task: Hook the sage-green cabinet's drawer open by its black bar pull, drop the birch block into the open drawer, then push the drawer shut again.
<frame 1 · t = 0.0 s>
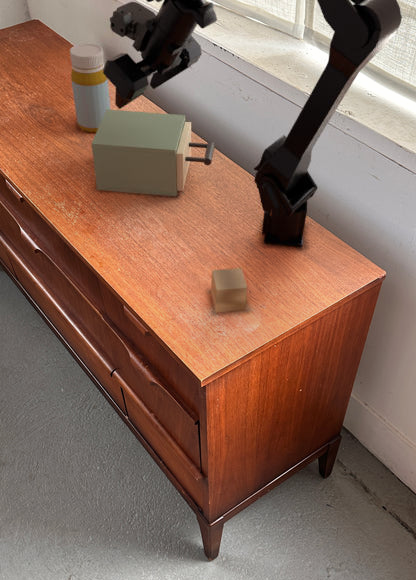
hand: (135, 96, 107), 15 cm above the dresser, tool tilted 35°, fingers open, 9 cm apart
bottle: (95, 126, 130), on the dresser
drawer: (163, 154, 114), point 5 cm above the dresser, slide at 0.0 cm
block: (227, 301, 95), on the dresser
cabinet: (142, 174, 118), on the dresser
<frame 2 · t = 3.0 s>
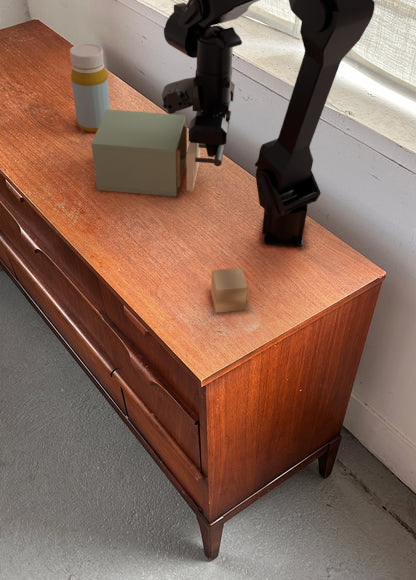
hand: (211, 155, 114), 5 cm above the dresser, tool pointing down, fingers closed, pressing on drawer
drawer: (173, 155, 114), point 5 cm above the dresser, slide at 1.8 cm, touching gripper
everything else where it was.
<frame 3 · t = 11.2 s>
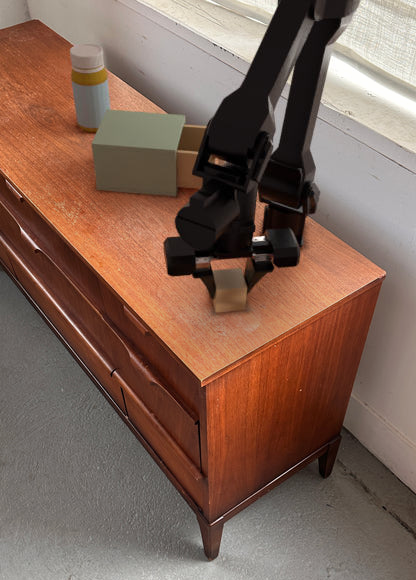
hand: (228, 296, 95), 1 cm above the dresser, tool pointing down, fingers closed on block, 4 cm apart
drawer: (202, 157, 114), point 5 cm above the dresser, slide at 7.3 cm
block: (227, 301, 95), on the dresser, touching gripper
everything else where it was.
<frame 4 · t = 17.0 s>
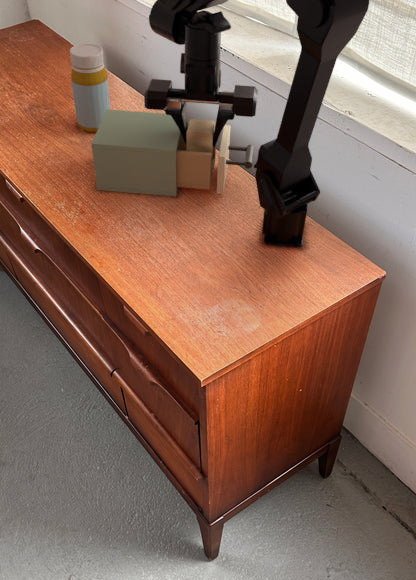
hand: (200, 144, 112), 7 cm above the dresser, tool pointing down, fingers closed on block, 4 cm apart
block: (200, 149, 113), point 6 cm above the dresser, touching gripper
everything else where it was.
when the fingers open (7 cm above the dresser, at t = 17.1 s): block drops 4 cm, resting on drawer.
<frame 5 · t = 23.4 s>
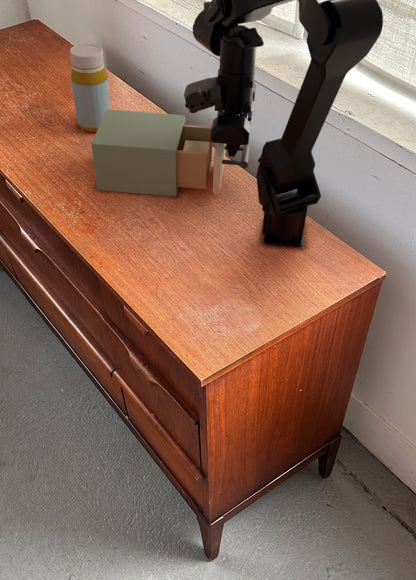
hand: (231, 155, 113), 5 cm above the dresser, tool pointing down, fingers closed
drawer: (199, 157, 114), point 5 cm above the dresser, slide at 6.6 cm, touching block, gripper
block: (196, 169, 116), point 2 cm above the dresser, touching drawer
everything else where it was.
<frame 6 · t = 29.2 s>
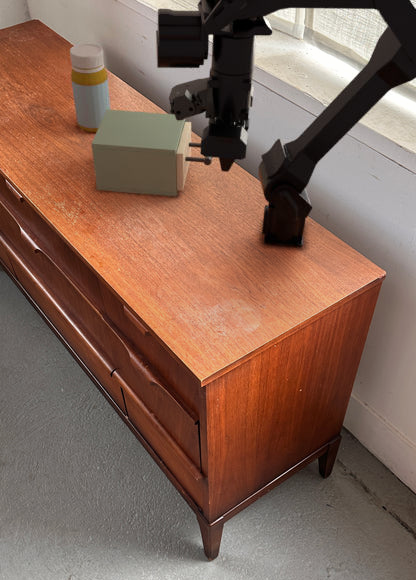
hand: (225, 170, 97), 13 cm above the dresser, tool pointing down, fingers closed
drawer: (163, 154, 114), point 5 cm above the dresser, slide at 0.0 cm, touching block, cabinet
block: (161, 166, 116), point 2 cm above the dresser, touching drawer
everything else where it was.
at the end: drawer pulled out 8.6 cm at the most during the clip, back to where it started at the end; block inside the target area in the cabinet (3.6 cm from its centre), point 2.0 cm above the cabinet's base; drawer slide at 0.0 cm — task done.
